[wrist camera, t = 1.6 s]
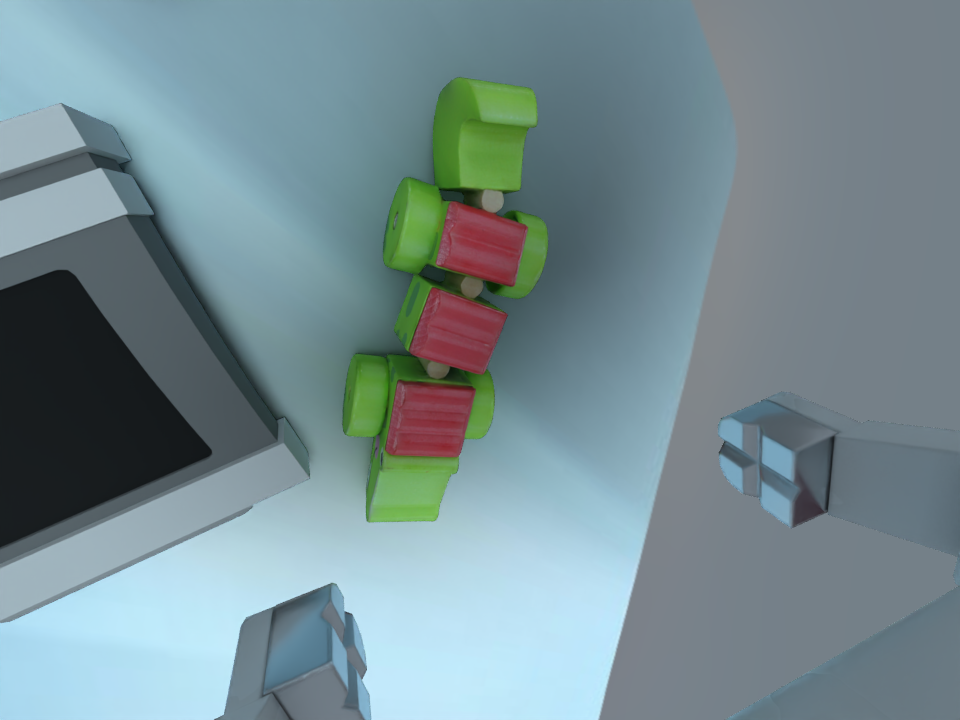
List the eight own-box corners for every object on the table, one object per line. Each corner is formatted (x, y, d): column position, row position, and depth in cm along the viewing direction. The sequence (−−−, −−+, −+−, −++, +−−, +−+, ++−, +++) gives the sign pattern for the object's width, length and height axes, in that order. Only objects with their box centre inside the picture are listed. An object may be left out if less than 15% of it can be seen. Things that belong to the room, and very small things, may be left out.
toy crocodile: (441, 493, 27) (471, 571, 21) (320, 483, 24) (319, 569, 19) (551, 132, 22) (627, 114, 16) (414, 74, 19) (450, 31, 14)
